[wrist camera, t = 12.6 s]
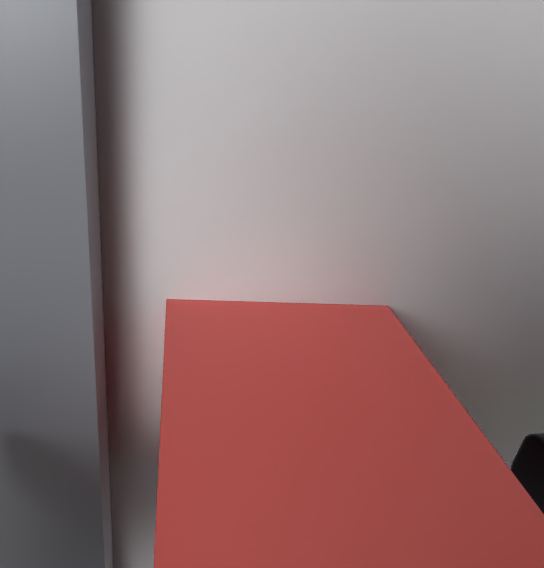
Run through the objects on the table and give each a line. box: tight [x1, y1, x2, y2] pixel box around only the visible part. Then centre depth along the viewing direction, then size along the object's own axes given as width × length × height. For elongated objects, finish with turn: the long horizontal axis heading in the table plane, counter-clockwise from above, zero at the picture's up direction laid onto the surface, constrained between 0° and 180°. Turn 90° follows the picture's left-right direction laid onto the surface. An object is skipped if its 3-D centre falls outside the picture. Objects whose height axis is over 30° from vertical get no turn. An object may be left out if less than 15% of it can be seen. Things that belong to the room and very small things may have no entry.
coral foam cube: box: [154, 299, 544, 568], centre depth 7 cm, size 4×4×5 cm
